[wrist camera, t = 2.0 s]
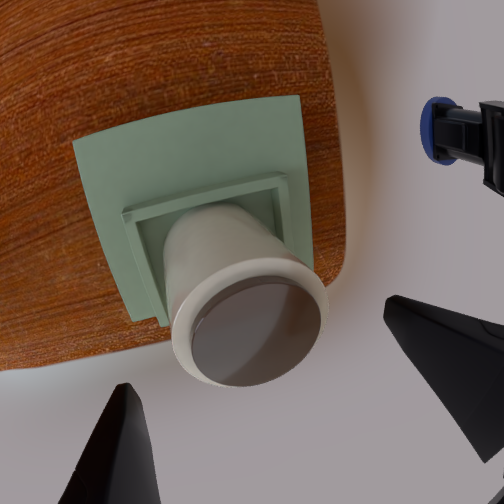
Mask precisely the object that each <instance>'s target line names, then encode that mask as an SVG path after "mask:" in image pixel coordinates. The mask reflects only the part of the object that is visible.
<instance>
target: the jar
mask: <svg viewBox="0 0 504 504" xmlns="http://www.w3.org/2000/svg"><path fill="white" fill-rule="evenodd" d="M162 258H163V270H164V281H165V291H166V300H167V309H168V317H169V325H170V333H171V340H172V346H173V350H174V353H175V356H176V358H177V359H178V361H179V363H180V364H181V365H182V367H183V368H184V369H185V370H186V371H187V372H188V373H190V374H191V375H192V376H194V377H195V378H197V379H198V380H201V381H203V382H205V383H208V384H211V385H215V386H220V387H246V386H254V385H259V384H262V383H266V382H268V381H271V380H274V379H276V378H278V377H280V376H282V375H284V374H285V373H287V372H288V371H290V370H291V369H293V368H294V367H295V366H296V365H298V364H299V363H300V362H301V361H302V360H303V359H304V358H305V357H306V356H307V354H308V353H309V352H310V351H311V350H312V349H313V347H314V346H315V345H316V343H317V342H318V340H319V338H320V336H321V334H322V333H323V330H324V328H325V325H326V321H327V317H328V309H329V306H328V297H327V292H326V289H325V287H324V285H323V283H322V281H321V280H320V278H319V277H318V276H317V275H316V274H315V273H314V272H313V271H312V270H311V269H310V268H309V267H308V266H307V265H306V264H305V263H304V262H303V261H302V260H301V259H300V258H299V257H298V256H297V255H296V254H295V253H294V252H292V251H291V250H290V249H289V248H288V247H287V246H286V245H285V244H284V243H283V242H282V241H281V240H280V239H279V238H278V237H277V236H276V235H274V234H273V233H272V232H271V231H270V230H269V229H268V228H267V227H266V226H265V225H264V224H263V223H262V222H261V221H260V220H258V219H257V218H256V217H255V216H254V215H253V214H252V213H251V212H249V211H248V210H246V209H245V208H243V207H241V206H238V205H236V204H232V203H228V202H211V203H207V204H202V205H199V206H197V207H195V208H192V209H191V210H189V211H187V212H186V213H184V214H183V215H182V216H181V217H180V218H179V219H178V220H177V221H176V222H175V223H174V224H173V226H172V227H171V228H170V230H169V232H168V234H167V236H166V239H165V241H164V245H163V253H162Z"/></svg>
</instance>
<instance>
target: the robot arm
mask: <svg viewBox="0 0 504 504" xmlns="http://www.w3.org/2000/svg"><path fill="white" fill-rule="evenodd" d="M479 106H480V108H481V112H477V111H470V110H464V109H463V107H462V106H457V105H451V104H444V103H437V102H433V103H432V105H431V108H432V128H433V159H434V160H436V161H443V160H452V159H461V160H465V161H469V162H472V163H475V164H479V165H482V166H484V179H483V184H484V185H486V186H487V187H489V188H490V189H492V190H493V191H495V192H496V193H498V194H500V195H501V196H503V197H504V102H502V101H486V102H479ZM383 318H384V321H385V323H386V325H387V326H388V328H389V329H390V331H391V332H392V334H393V336H394V337H395V338H396V340H397V342H398V343H399V345H400V346H401V348H402V350H403V351H404V353H405V354H406V355H407V357H408V358H409V359H410V360H411V362H412V363H413V364H414V366H415V367H416V368H417V369H418V371H419V372H420V373H421V375H422V376H423V377H424V379H425V380H426V381H427V383H428V384H429V385H430V387H431V388H432V389H433V391H434V392H435V393H436V395H437V396H438V397H439V399H440V400H441V402H442V403H443V404H444V406H445V407H446V409H447V410H448V411H449V413H450V414H451V415H452V417H453V418H454V420H455V421H456V423H457V424H458V426H459V427H460V429H461V430H462V431H463V433H464V434H465V436H466V437H467V439H468V440H469V442H470V443H471V445H472V446H473V448H474V449H475V451H476V452H477V454H478V455H479V457H480V458H481V460H482V461H483V462H484V463H486V462H487V461H488V460H490V459H491V458H492V457H493V456H494V455H495V454H497V453H498V452H499V451H500V450H501V449H502V448H503V447H504V325H500V324H495V323H491V322H488V321H485V320H481V319H478V318H474V317H471V316H468V315H464V314H461V313H457V312H454V311H450V310H447V309H444V308H440V307H437V306H433V305H430V304H426V303H423V302H419V301H416V300H413V299H409V298H406V297H403V296H399V295H393V296H391V297H389V298H387V300H386V302H385V308H384V315H383ZM75 470H76V471H74V472H73V474H72V476H71V479H70V481H69V483H68V485H67V487H66V489H65V491H64V493H63V495H62V497H61V498H60V500H59V502H58V504H161V501H160V497H159V491H158V486H157V480H156V474H155V467H154V461H153V454H152V447H151V442H150V437H149V433H148V429H147V425H146V420H145V416H144V411H143V406H142V402H141V399H140V397H139V396H138V394H137V393H136V391H135V390H134V389H133V387H132V385H131V384H130V383H123V384H118V385H117V386H116V387H115V389H114V391H113V393H112V395H111V397H110V399H109V401H108V403H107V405H106V406H105V409H104V410H103V412H102V414H101V416H100V418H99V420H98V422H97V424H96V426H95V428H94V430H93V432H92V434H91V436H90V438H89V440H88V442H87V444H86V447H85V449H84V451H83V453H82V455H81V457H80V459H79V461H78V463H77V465H76V468H75ZM503 478H504V476H503ZM488 504H504V487H503V488H502V489H501V490H500V491H499V492H498V493H497V495H496V496H495V497H494V498H493V499H492V500H491V501H490V502H489V503H488Z"/></svg>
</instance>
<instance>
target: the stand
mask: <svg viewBox="0 0 504 504" xmlns="http://www.w3.org/2000/svg"><path fill="white" fill-rule="evenodd" d="M73 147H74V151H75V156H76V160H77V164H78V168H79V172H80V176H81V180H82V184H83V188H84V191H85V195H86V198H87V202H88V205H89V209H90V212H91V215H92V218H93V221H94V224H95V228H96V231H97V234H98V237H99V239H100V242H101V245H102V248H103V251H104V254H105V256H106V259H107V262H108V264H109V267H110V270H111V272H112V275H113V277H114V280H115V282H116V285H117V287H118V289H119V292H120V294H121V297H122V299H123V301H124V304H125V306H126V308H127V310H128V313H129V315H130V317H131V319H132V321H133V322H135V321H139V320H143V319H147V318H151V317H155V316H156V317H157V319H158V322H159V324H160V326H161V327H165V326H168V325H169V317H168V309H167V300H166V291H165V281H164V270H163V258H162V253H163V245H164V241H165V239H166V236H167V234H168V232H169V230H170V228H171V227H172V226H173V224H174V223H175V222H176V221H177V220H178V219H179V218H180V217H181V216H182V215H183V214H184V213H186V212H187V211H189V210H191V209H192V208H195V207H197V206H199V205H202V204H207V203H211V202H228V203H232V204H236V205H238V206H241V207H243V208H245V209H246V210H248V211H249V212H251V213H252V214H253V215H254V216H255V217H256V218H257V219H258V220H260V221H261V222H262V223H263V224H264V225H265V226H266V227H267V228H268V229H269V230H270V231H271V232H272V233H273V234H274V235H276V236H277V237H278V238H279V239H280V240H281V241H282V242H283V243H284V244H285V245H286V246H287V247H288V248H289V249H290V250H291V251H292V252H294V253H295V254H296V255H297V256H298V257H299V258H300V259H301V260H302V261H303V262H304V263H305V264H306V265H307V266H308V267H309V268H310V269H311V270H312V271H313V270H314V267H313V243H312V225H311V209H310V195H309V182H308V170H307V159H306V149H305V139H304V130H303V121H302V112H301V104H300V97H299V95H288V96H275V97H264V98H254V99H245V100H237V101H230V102H223V103H217V104H211V105H205V106H199V107H194V108H188V109H183V110H179V111H174V112H169V113H165V114H161V115H156V116H152V117H148V118H144V119H140V120H137V121H133V122H129V123H126V124H122V125H119V126H116V127H112V128H109V129H106V130H103V131H99V132H96V133H93V134H90V135H88V136H85V137H82V138H79V139H76V140H74V141H73Z"/></svg>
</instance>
